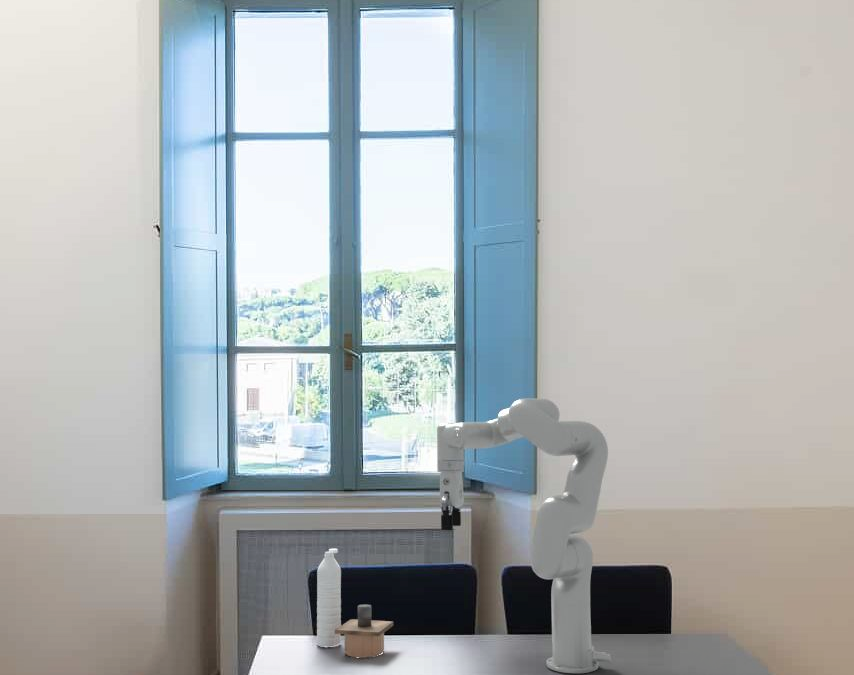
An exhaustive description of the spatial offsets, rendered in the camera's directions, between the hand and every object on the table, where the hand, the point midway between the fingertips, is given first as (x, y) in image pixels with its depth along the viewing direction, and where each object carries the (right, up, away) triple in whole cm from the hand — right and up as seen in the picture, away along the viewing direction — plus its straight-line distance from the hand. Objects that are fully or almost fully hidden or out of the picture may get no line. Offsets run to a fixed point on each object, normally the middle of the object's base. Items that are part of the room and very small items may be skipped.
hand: (451, 527), depth 237 cm
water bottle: (-33, -30, -8) cm, 46 cm away
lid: (-23, -23, -17) cm, 37 cm away
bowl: (-23, -29, -17) cm, 41 cm away
